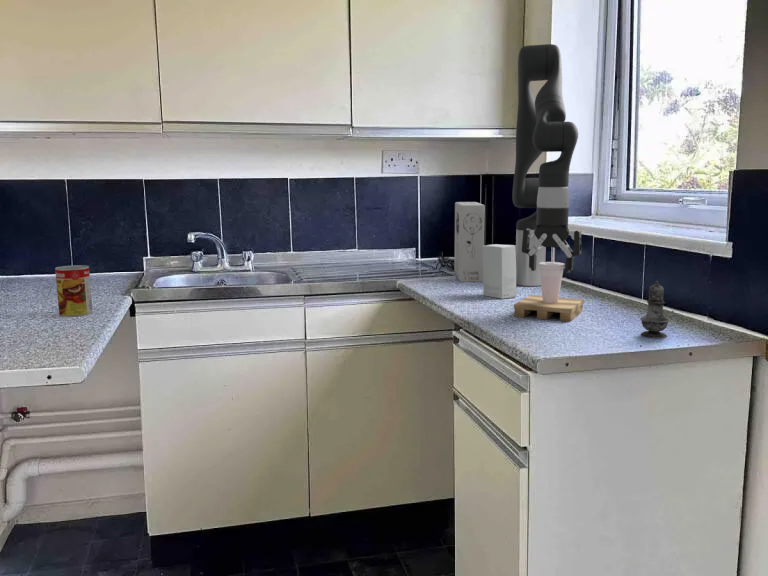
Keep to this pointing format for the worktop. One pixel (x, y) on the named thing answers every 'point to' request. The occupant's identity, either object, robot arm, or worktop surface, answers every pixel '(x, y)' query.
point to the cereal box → (469, 241)
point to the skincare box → (499, 271)
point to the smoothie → (551, 279)
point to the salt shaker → (655, 314)
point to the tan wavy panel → (549, 308)
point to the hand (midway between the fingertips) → (550, 271)
